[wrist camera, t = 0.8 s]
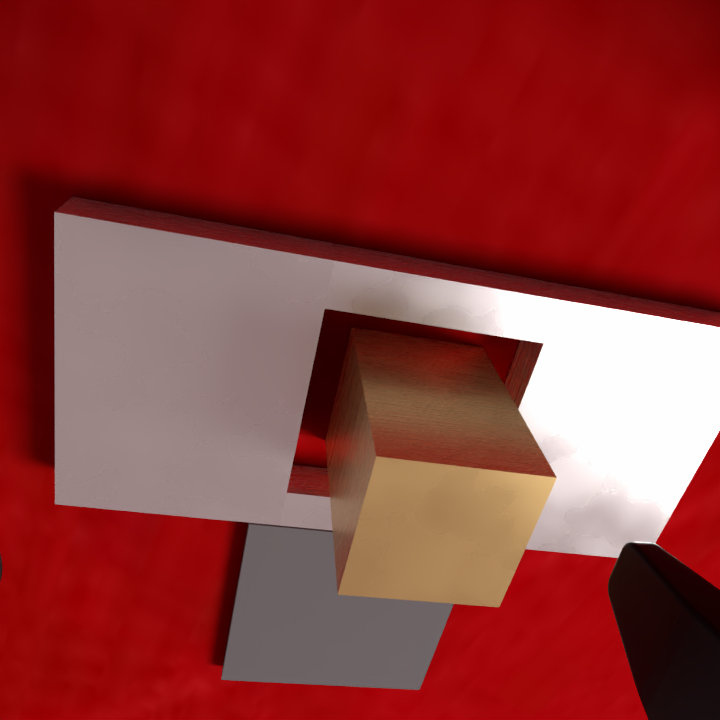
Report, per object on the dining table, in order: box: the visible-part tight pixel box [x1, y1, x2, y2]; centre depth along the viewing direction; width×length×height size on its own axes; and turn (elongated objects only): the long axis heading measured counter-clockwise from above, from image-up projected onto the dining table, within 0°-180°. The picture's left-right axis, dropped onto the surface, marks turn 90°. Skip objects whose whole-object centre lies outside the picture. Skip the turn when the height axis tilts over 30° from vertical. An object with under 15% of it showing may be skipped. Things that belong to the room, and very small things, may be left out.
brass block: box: [325, 327, 557, 607], centre depth 20 cm, size 5×5×7 cm
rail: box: [54, 196, 720, 558], centre depth 22 cm, size 22×10×2 cm, turn 78°
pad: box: [222, 523, 453, 690], centre depth 27 cm, size 9×9×1 cm
